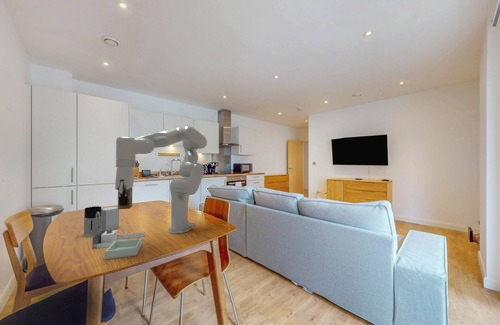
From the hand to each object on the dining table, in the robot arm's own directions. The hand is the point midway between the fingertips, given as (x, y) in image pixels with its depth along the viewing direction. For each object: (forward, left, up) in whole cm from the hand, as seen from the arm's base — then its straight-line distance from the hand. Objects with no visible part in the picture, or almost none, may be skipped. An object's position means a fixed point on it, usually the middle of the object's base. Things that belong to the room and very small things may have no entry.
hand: (125, 203), depth 89 cm
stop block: (0, 0, -2) cm, 2 cm away
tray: (0, 0, -22) cm, 22 cm away
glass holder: (+22, -29, -22) cm, 43 cm away
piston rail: (+5, -14, -22) cm, 27 cm away
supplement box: (+18, -39, -22) cm, 48 cm away
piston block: (+10, -14, -22) cm, 28 cm away
